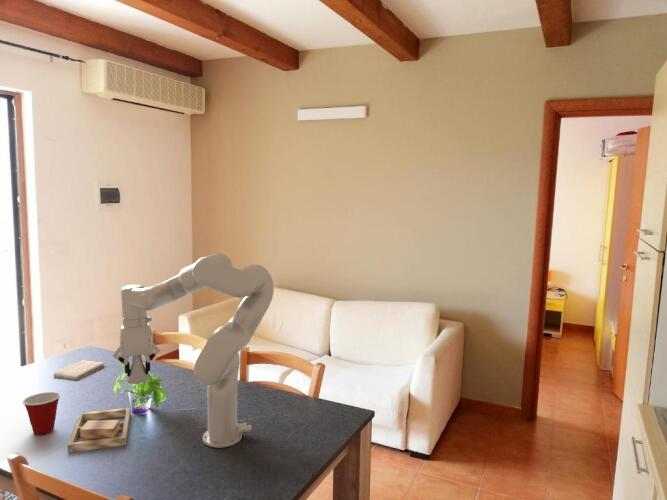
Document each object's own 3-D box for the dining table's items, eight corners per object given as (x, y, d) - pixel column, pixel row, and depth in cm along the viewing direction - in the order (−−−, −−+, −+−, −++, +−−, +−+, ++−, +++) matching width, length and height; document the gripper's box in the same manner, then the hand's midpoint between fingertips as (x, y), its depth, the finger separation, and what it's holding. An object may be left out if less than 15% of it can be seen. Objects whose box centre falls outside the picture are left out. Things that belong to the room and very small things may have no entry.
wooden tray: (130, 414, 178) (130, 407, 177) (125, 445, 157) (125, 437, 157) (79, 420, 172) (79, 413, 172) (68, 452, 152) (67, 445, 151)
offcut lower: (118, 435, 164) (117, 427, 163) (115, 445, 158) (114, 436, 157) (84, 439, 161) (84, 430, 160) (80, 448, 155) (80, 439, 155)
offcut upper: (119, 428, 162) (119, 419, 162) (113, 437, 157) (113, 428, 156) (87, 429, 161) (87, 420, 161) (80, 438, 155) (80, 429, 155)
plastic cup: (56, 420, 172) (54, 387, 170) (66, 431, 164) (64, 397, 163) (20, 430, 164) (18, 396, 163) (29, 442, 157) (27, 407, 155)
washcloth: (106, 367, 223) (106, 360, 222) (77, 382, 206) (76, 375, 205) (83, 364, 226) (83, 357, 225) (53, 378, 208) (52, 371, 208)
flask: (154, 379, 169) (152, 350, 168) (135, 386, 163) (134, 357, 162) (140, 375, 173) (139, 347, 171) (122, 381, 167) (120, 353, 165)
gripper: (162, 316, 171) (164, 367, 174) (108, 321, 166) (111, 373, 168) (162, 322, 164) (164, 374, 167) (105, 327, 159) (109, 381, 161)
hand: (138, 373), depth 167 cm, fingers closed on flask, 5 cm apart
